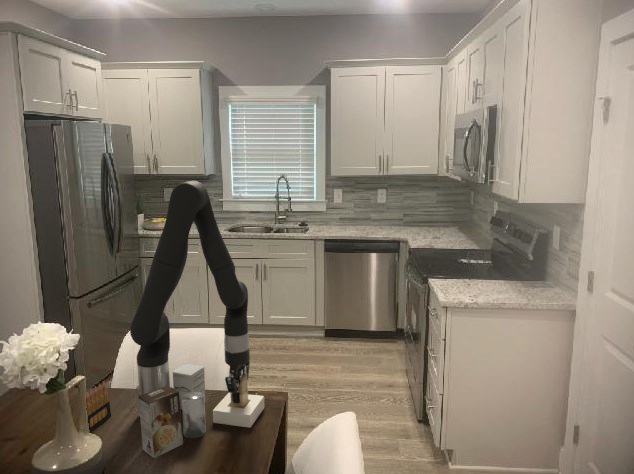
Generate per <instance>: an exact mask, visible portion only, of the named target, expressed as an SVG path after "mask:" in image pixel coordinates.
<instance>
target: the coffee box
mask: <svg viewBox="0 0 634 474" xmlns="http://www.w3.org/2000/svg"><path fill="white" fill-rule="evenodd" d="M138 399H139V410H140V416H139V418H140V431H141V442H142V443H141V444H142V450H143V451H144V452H145V453H147V455H149V456H150V457H152V458H154V459H155V458H158V457H160V456H162V455H164V454H166V453H168V452H170V451H171V450H175V449H176V448H178V447H181V446H182V445H183V444H184V440H183V439H184V438H183V436H184V435H183V422H182V414H181V413H182V412H181V410H182V409H180V397H179V391H177V390H175V389H174V388H173V387H172V386H170V387H169V386H168V385H167V386H164V387H161V388H159V389H156V390H153V391H151V392H148V393H146V394H143V395H140V396H138Z"/></svg>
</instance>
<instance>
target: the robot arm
mask: <svg viewBox="0 0 634 474" xmlns="http://www.w3.org/2000/svg"><path fill="white" fill-rule="evenodd" d="M167 207H168V208H167V213H166V218H165V222H164V226H163V228H162V231H161V234H160V237H159V241H158V242H157V245H156V246H157V247H156V249H155V252H154V254H153V255H154V256H153V258H152V261H151V265H150V268H149V272H148V275H147V279H146V283H145V285H144V289H143V293H142V297H141V300H140V302H139V305H138V308H137V310H136V312H135V314H134V316H133V319H132V321H131V323H130V327H129V332H130V336H131V339H132V341H133V342H134V343H135V344H136V345H138V346H140V347H139V350H138V352H137V354H136V366H137V368H136V369H137V380H138V381H137V382H138V385H137V386H136V388H135V390H136V391H135V393H136V405H137V416H138V417H140V410H139V399H138V396H140V395H143V394H146V393H148V392H151V391H153V390H156V389H159V388H161V387H164V386H167V385H168V386H169V387H171V380H170V379H171V378H170V365H169V364H170V363H169V362H170V361H169V353H170V349H171V339H170V338H171V333H170V322H169V318H168V316H167V314H166V313H165V312H164V311H165V309H166V306H167V304H168V302H169V300H170V298H171V297H172V295H173V293H174V291H175V289H177V286H178V284H179V282H180V280H181V278H182V276H183V272H184V269H185V266H186V263H187V260H188V259H187V258H188V255H189V253H188V251H189V250H188V249H189V235H190V232H191V228H192V225H193V222H194V225H195V228H196V230H197V233H198V236H199V241H200V246H201V250H202V254H203V257H204V259H205V262H206V264H207V267H208V268H209V270H210V272H211V274H212V276H213V279H214V283H215V287H216V290H217V294H218V296H219V300H220V301H221V303H222V304H223V305H224V306H225V315H224V321H223V326H224V327H223V328H224V335H223V336H224V340H223V345H224V346H223V347H224V349H223V350H224V361H225V362H224V363H226V364H227V366H229V373H228V374H229V375H228V376H225V379H224V381H225V385H226V388H227V389H226V390H227V392H228V393H232V400H233V403H237V404H239V403H240V392H239V391H240V384H241V378H242V375H245V374H247V381H248V380H249V373H250V366H251V365H250V362H251V360H250V357H251V356H250V355H251V353H250V337H249V328H248V326H249V324H248V322H249V321H248V305H249V290H248V288H247V286H246V284H245V283H244V282H243V281H240V280H239V279H238V277H237V273H236V266H235V263H234V261H233V259H232V256H231V254H230V252H229V250H228V248H227V246H226V243H225V241H224V238H223V236H222V233H221V232H220V229H219V225H218V222H217V220H216V217H215V215H214V210H213V206H212V203H211V199H210V195H209V192H208V189H207V188H206V186H205V185H204V184H203V183H201V182H199V181H197V180H188V181H184V182H180V183H179V184H177V185H175V187H174V188H173V189H172V191H171V193H170V198H169V202H168V206H167ZM235 380H239V381H238V382H235ZM236 385H237V387H236Z"/></svg>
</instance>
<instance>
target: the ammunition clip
mask: <svg viewBox="0 0 634 474" xmlns="http://www.w3.org/2000/svg"><path fill="white" fill-rule="evenodd" d="M107 390H108V389H107V384H106V382H105V381H104V380H103V381H102V384H101V383H98V387H97V386H96V385H95V386H94V389H92V388H91V389H90V390H89V391H86V393H85V399H86V408H87V415H88V423H89V430H90V433H91V432H92V431H94V430H95V429H96V428H98V427H99V426H100V425H102V424H103V423H105V421H107V420H109V419H110V418H112V411H111V410H112V409H111V404H110V401H109V395H108V394H109V393H108V391H107Z"/></svg>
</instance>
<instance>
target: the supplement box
mask: <svg viewBox="0 0 634 474" xmlns="http://www.w3.org/2000/svg"><path fill="white" fill-rule="evenodd" d="M205 380H206V379H205V366H202V365H196V364H191V363H184V364H182V365H181V366H179V367H178V368H176V369H175V370H174V371H172V383H173V384H172V386H173V387H172V388H174V389H175V390H177V391H179V397H180V410H182V400H181V398H182V396H183V395H185V394H187V393H191V392H200V393H203V394H204V402H205V403H206V381H205Z"/></svg>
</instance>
